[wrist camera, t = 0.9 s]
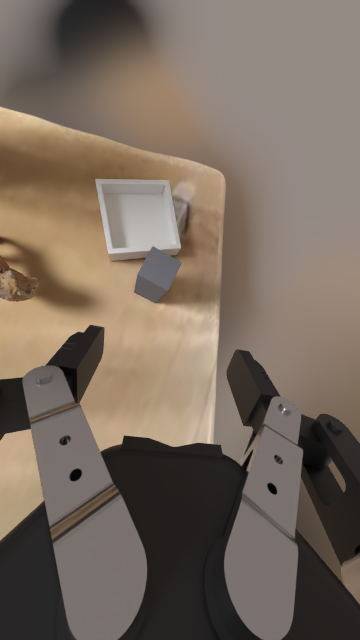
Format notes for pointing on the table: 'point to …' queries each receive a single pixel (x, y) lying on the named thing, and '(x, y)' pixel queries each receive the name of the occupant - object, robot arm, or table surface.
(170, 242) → the tray
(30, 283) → the lion figurine
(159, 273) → the handle block
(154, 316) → the table surface
